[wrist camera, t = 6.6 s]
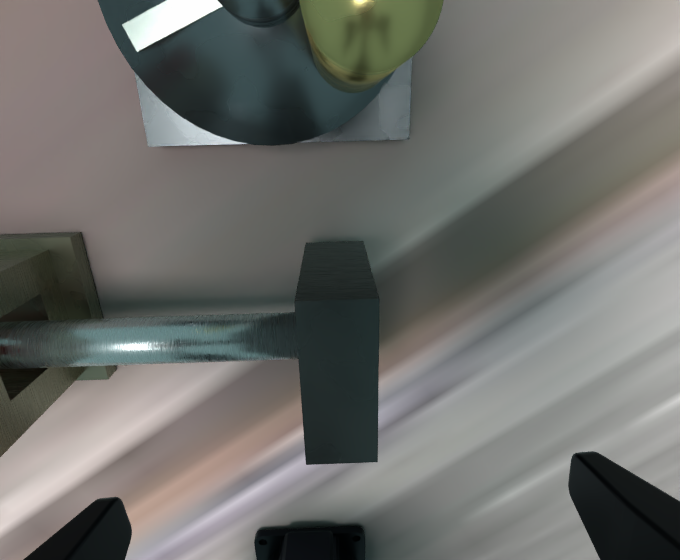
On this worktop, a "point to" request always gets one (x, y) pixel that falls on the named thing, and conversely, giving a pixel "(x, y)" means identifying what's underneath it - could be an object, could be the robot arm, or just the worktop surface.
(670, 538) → the robot arm
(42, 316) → the grey-green hollow piece
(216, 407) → the worktop surface
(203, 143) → the wheel base
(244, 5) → the handwheel
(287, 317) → the block-headed metal hammer
